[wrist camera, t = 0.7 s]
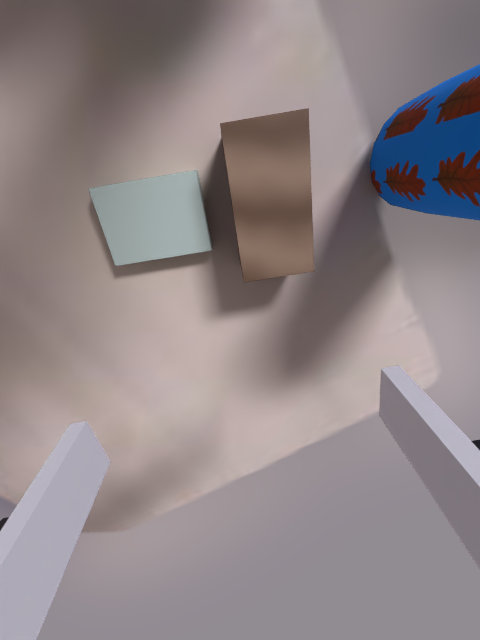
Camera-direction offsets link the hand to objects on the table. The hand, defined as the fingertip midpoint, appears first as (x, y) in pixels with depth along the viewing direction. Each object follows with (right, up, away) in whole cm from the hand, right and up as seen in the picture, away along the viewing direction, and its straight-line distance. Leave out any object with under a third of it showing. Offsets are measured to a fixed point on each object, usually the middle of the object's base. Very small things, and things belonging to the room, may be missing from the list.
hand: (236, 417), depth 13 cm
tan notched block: (+3, +18, +18) cm, 26 cm away
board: (-9, +16, +19) cm, 27 cm away
